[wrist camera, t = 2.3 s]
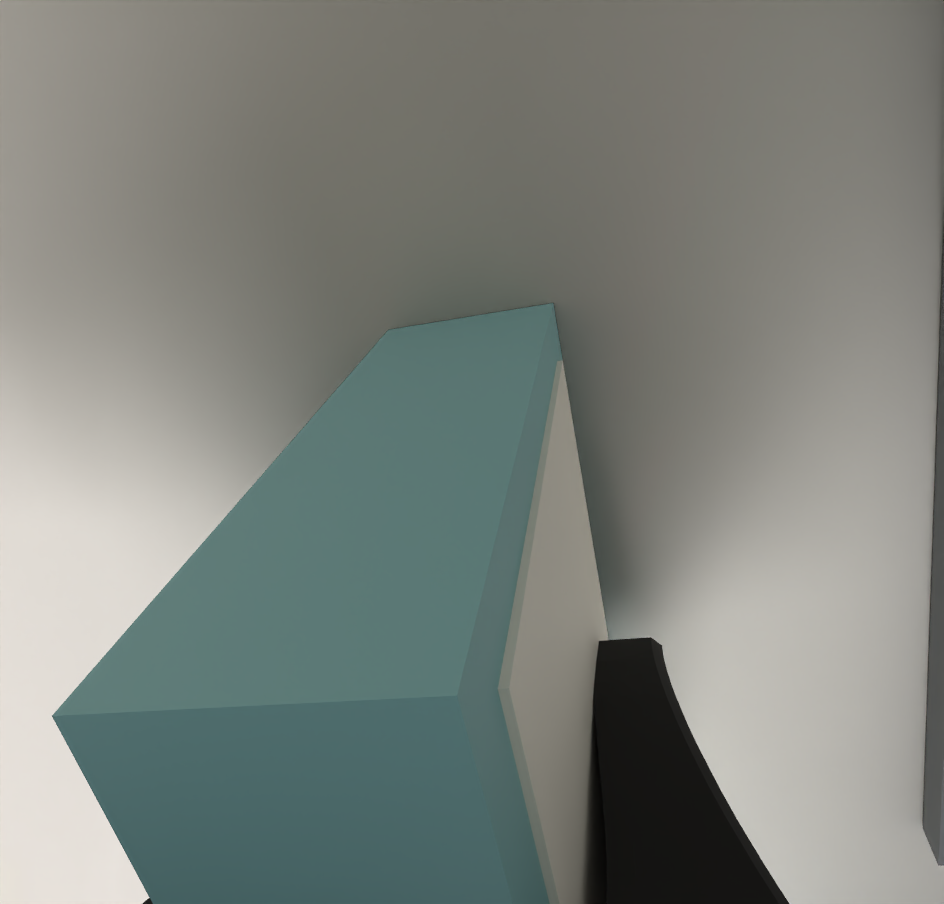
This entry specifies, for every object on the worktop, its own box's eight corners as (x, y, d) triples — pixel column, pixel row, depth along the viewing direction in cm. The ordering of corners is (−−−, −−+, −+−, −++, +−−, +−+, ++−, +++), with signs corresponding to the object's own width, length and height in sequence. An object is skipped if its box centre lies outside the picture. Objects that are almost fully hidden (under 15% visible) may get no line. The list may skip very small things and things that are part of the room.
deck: (647, 851, 13) (679, 1500, 7) (521, 851, 13) (452, 1458, 7) (558, 301, 9) (472, 694, 3) (387, 329, 9) (50, 715, 4)
